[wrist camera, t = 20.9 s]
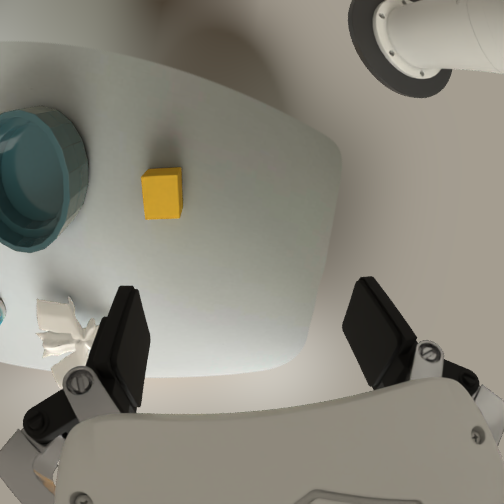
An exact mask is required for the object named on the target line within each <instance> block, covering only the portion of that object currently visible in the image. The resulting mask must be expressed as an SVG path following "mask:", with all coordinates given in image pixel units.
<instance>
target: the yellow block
mask: <svg viewBox="0 0 504 504" xmlns="http://www.w3.org/2000/svg"><path fill="white" fill-rule="evenodd" d="M141 182H142V193H143V203H144V212H145V219H146V220H148V219H174V218H180V216H181V212H182V208H183V198H182V173H181V167H176V168H157V169H148V170H147V171H146V172H145V173H144V174H143V175H142V176H141Z"/></svg>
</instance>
